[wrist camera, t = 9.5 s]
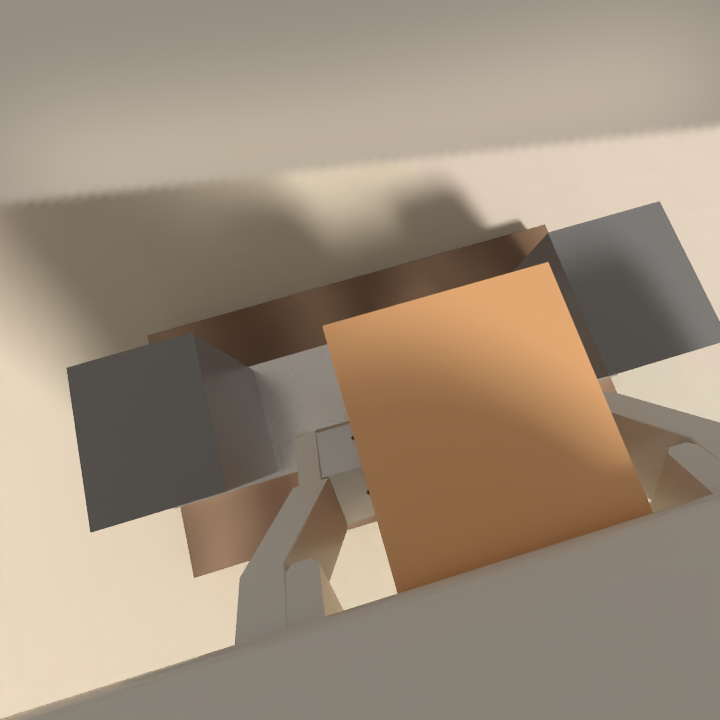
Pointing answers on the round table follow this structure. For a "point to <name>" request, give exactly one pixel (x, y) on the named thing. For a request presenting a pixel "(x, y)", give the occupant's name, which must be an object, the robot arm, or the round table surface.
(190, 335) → the mounted modules
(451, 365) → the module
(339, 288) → the board
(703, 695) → the robot arm
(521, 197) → the round table surface
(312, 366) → the light grey flat plate
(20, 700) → the round table surface
